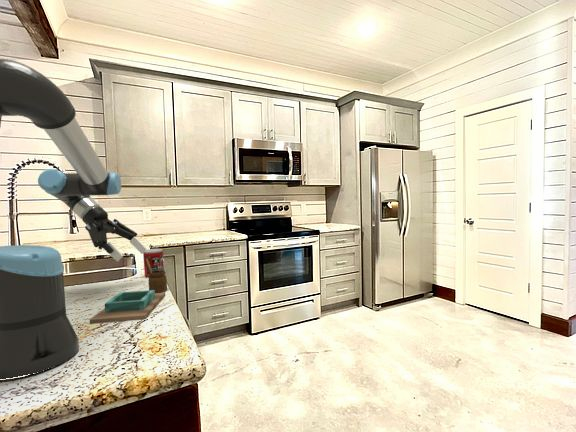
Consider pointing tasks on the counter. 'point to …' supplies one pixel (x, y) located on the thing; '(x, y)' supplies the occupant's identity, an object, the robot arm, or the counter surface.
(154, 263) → the canned food
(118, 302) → the cradle jig
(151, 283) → the utensil holder
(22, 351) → the robot arm
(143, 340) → the counter surface
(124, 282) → the counter surface
